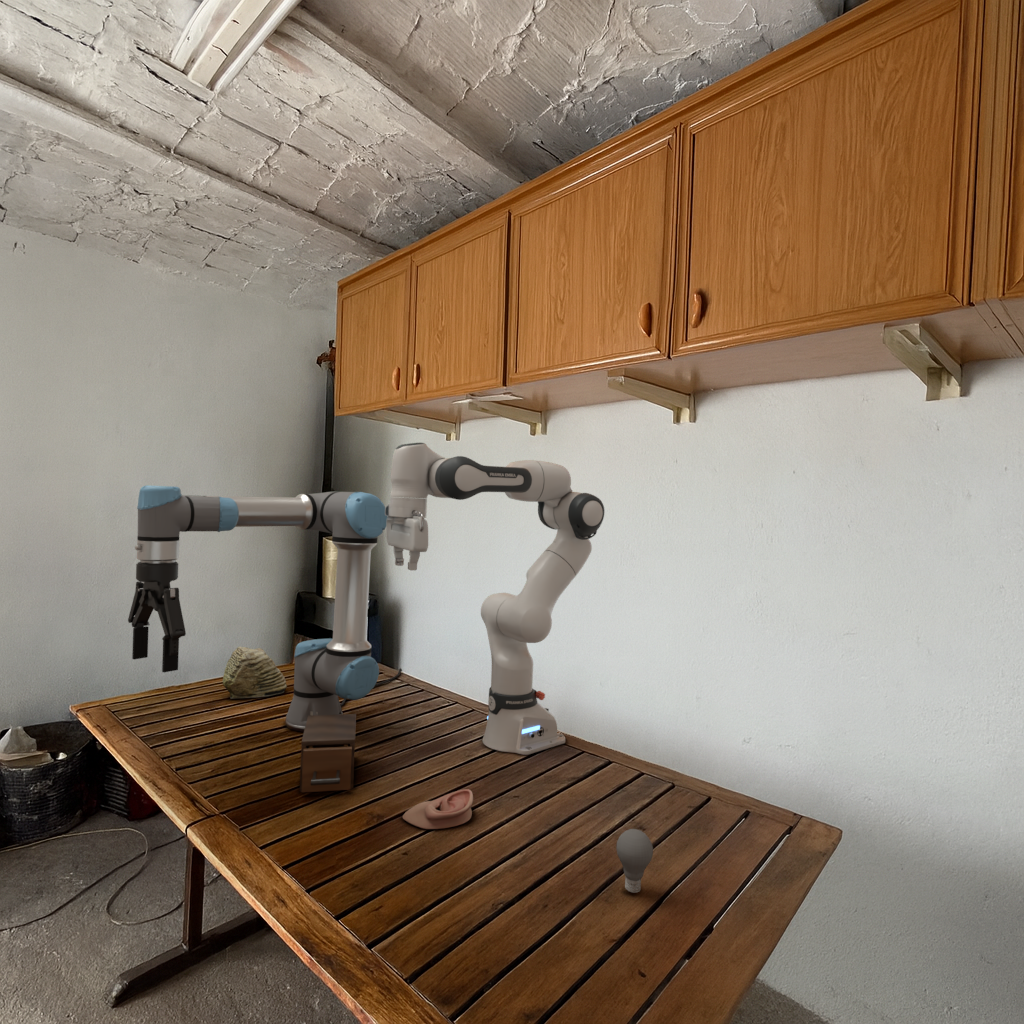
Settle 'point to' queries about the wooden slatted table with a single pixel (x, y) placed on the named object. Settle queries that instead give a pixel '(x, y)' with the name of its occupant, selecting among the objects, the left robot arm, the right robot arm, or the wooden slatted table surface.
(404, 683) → the wooden slatted table surface
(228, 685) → the fossil
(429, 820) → the anatomical model
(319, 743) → the cabinet
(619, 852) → the light bulb
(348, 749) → the drawer
